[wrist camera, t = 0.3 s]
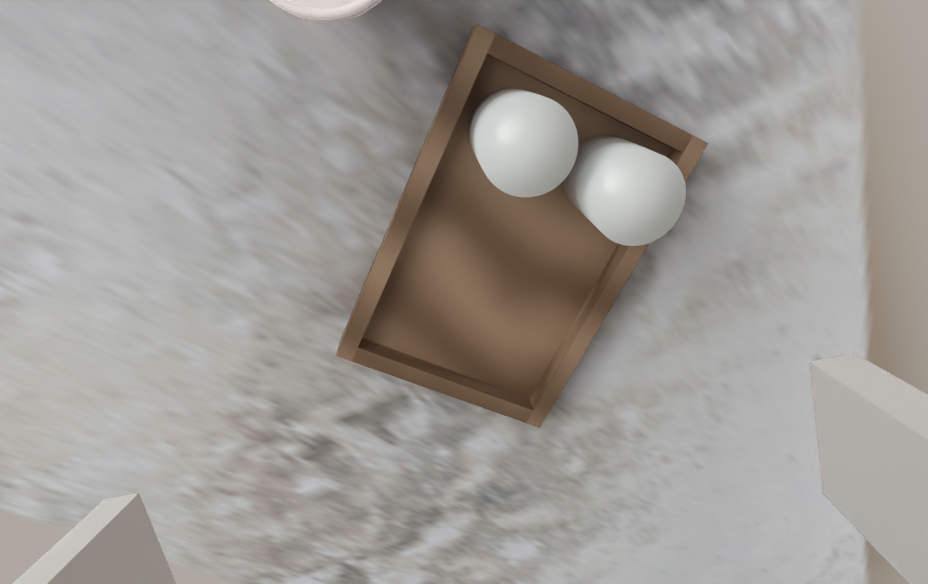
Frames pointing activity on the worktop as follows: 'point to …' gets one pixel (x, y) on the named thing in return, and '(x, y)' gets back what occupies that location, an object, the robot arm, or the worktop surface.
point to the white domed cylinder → (625, 189)
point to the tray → (498, 250)
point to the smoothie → (326, 9)
